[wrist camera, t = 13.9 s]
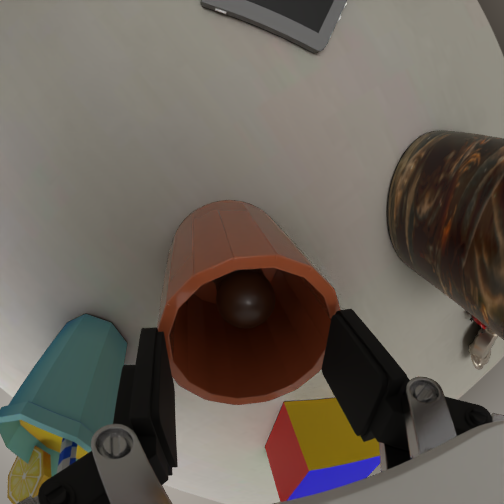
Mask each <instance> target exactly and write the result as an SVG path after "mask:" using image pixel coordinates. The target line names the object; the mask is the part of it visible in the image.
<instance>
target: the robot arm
mask: <svg viewBox="0 0 504 504" xmlns="http://www.w3.org/2000/svg"><path fill="white" fill-rule="evenodd" d="M322 373H323V375H324V377H325V379H326V381H327V383H328V384H329V386H330V388H331V390H332V392H333V394H334V396H335V397H336V399H337V401H338V403H339V405H340V407H341V408H342V410H343V412H344V414H345V416H346V418H347V420H348V421H349V423H350V425H351V427H352V429H353V431H354V432H355V434H356V435H357V436H361V438H362V440H363V442H366V441H369V440H372V439H374V438H376V440H377V442H379V451H380V464H381V473H378V474H375V475H373V476H370V477H367V478H365V479H362V480H359V481H356V482H353V483H350V484H347V485H344V486H341V487H338V488H335V489H331V490H328V491H324V492H321V493H317V494H313V495H310V496H306V497H301V498H297V499H293V500H288V501H284V502H279V503H274V504H504V415H499V414H495V413H493V414H492V415H490V413H489V412H488V411H487V409H485V408H484V407H482V406H480V405H476V404H472V403H468V402H464V401H460V400H456V399H452V398H448V397H445V396H444V394H443V391H442V389H441V387H440V385H439V384H438V383H437V382H436V381H434V380H432V379H430V378H427V377H415V378H413V379H411V380H409V379H408V377H407V375H406V374H405V372H404V371H403V370H402V369H401V367H400V366H399V365H398V364H397V363H396V361H395V360H394V359H393V358H392V356H391V355H390V354H389V353H388V352H387V350H386V349H385V348H384V347H383V345H382V344H381V343H380V342H379V341H378V339H377V338H376V337H375V336H374V335H373V333H372V332H371V331H370V330H369V329H368V327H367V326H366V325H365V324H364V323H363V322H362V320H361V319H360V318H359V317H358V316H357V314H356V313H355V312H354V311H353V310H352V309H346V310H339V311H337V312H336V313H335V315H333V316H332V318H331V323H330V328H329V334H328V339H327V344H326V349H325V354H324V359H323V364H322ZM91 450H92V451H90V452H89V453H87V454H86V455H84V456H83V457H81V458H80V459H78V460H77V461H75V462H74V463H72V464H71V465H69V466H68V467H66V468H65V469H63V470H62V471H60V472H58V473H57V474H55V475H54V476H52V477H51V478H49V479H47V480H46V481H45V482H44V483H43V484H42V485H41V487H40V488H39V492H38V495H37V496H36V497H34V498H33V497H31V496H29V497H27V498H26V499H24V500H22V501H20V502H19V503H17V504H172V502H171V501H170V499H169V497H168V495H167V494H166V492H165V490H164V488H163V486H162V485H163V484H164V483H165V482H166V481H167V480H168V475H172V467H177V448H176V426H175V391H174V383H173V378H172V374H171V369H170V363H169V358H168V353H167V348H166V342H165V336H164V332H163V331H162V332H158V328H142V329H141V334H140V340H139V346H138V353H137V359H136V365H124V366H123V367H122V371H121V377H120V382H119V388H118V394H117V400H116V407H115V413H114V420H113V424H109V425H106V426H103V427H101V428H100V429H98V430H97V431H96V432H95V433H94V435H93V436H92V439H91Z"/></svg>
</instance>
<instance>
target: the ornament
mask: <svg viewBox="0 0 504 504" xmlns="http://www.w3.org/2000/svg"><path fill="white" fill-rule="evenodd" d="M485 328H486V327H485ZM482 329H483V328H481V329H480V330H479V331H478V334H477V335H476V337H475V340H474V341H473V343H472V344H470V345H469V348H470V349H469V352H470V353H471V359H472V362H473V364H474V366H475V368H476V369H478V370H480V369H482V368H483V365H485V364H487V363H488V361H489V358H490V355H491V348H492V346H493V345H494V342H495V340H496V339H497V337H498V335H497V334H495V333H494V332H493V331H492V330H490V329H487V328H486V329H483V331H482ZM485 331H486V332H485ZM481 332H484V334H482V333H481Z"/></svg>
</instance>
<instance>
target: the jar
mask: <svg viewBox="0 0 504 504" xmlns="http://www.w3.org/2000/svg"><path fill="white" fill-rule="evenodd" d="M387 218H388V228H389V234H390V238H391V242H392V244H393V247H394V249H395V251H396V253H397V254H398V256H399V257H400V259H401V260H402V261H403V262H404V263H405V264H406V265H407V266H409V267H410V268H411V269H412V270H414V271H415V272H416V273H418V274H419V275H420V276H422V277H423V278H424V279H426V280H427V281H428V282H430V283H431V284H432V285H434V286H435V287H436V288H438V289H439V290H440V291H441V292H443V293H444V294H445V295H447V296H448V297H449V298H451V299H452V300H453V301H455V302H456V303H457V304H458V305H460V306H461V307H462V308H464V309H465V310H466V311H467V312H469V313H470V314H471V315H473V316H474V317H475V318H476V319H478V320H479V321H480V322H481V323H483V324H484V325H485V326H487V327H488V328H489V329H490V330H492V331H493V332H494V333H495V334H497V335H498V336H499V337H501V338H502V339H503V340H504V139H503V138H498V137H492V136H485V135H479V134H472V133H464V132H455V131H433V132H429V133H427V134H424V135H423V136H421V137H420V138H418V139H417V140H416V141H415V142H414V143H412V145H411V146H410V147H409V148H408V149H407V151H406V152H405V153H404V155H403V157H402V158H401V160H400V162H399V164H398V166H397V168H396V171H395V173H394V176H393V180H392V183H391V187H390V192H389V198H388V209H387Z"/></svg>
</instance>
